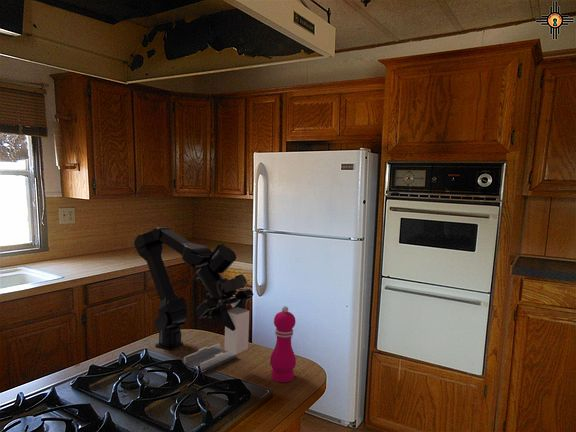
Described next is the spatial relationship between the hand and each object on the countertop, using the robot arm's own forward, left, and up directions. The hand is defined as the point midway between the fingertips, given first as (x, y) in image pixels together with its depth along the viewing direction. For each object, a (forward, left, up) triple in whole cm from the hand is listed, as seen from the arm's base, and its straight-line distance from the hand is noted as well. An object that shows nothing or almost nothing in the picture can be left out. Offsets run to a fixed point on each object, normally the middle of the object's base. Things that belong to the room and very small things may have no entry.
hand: (240, 327), depth 110 cm
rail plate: (-11, +2, -13) cm, 17 cm away
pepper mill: (+12, +3, -13) cm, 18 cm away
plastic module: (-1, 0, -7) cm, 7 cm away
